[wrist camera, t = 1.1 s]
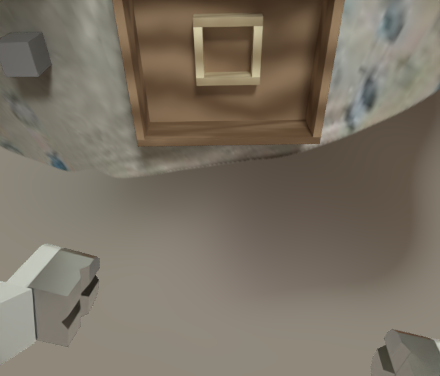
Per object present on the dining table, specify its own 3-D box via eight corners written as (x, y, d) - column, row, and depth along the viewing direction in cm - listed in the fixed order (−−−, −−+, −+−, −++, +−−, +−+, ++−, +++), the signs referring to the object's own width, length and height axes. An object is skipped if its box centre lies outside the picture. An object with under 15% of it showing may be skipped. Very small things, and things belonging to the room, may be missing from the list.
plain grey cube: (10, 32, 45) (-8, 42, 42) (42, 32, 45) (27, 42, 42) (21, 64, 47) (5, 77, 44) (51, 64, 47) (38, 76, 44)
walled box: (116, -57, 39) (102, -53, 35) (338, -61, 39) (354, -57, 34) (145, 125, 53) (138, 146, 48) (310, 122, 53) (319, 143, 48)
